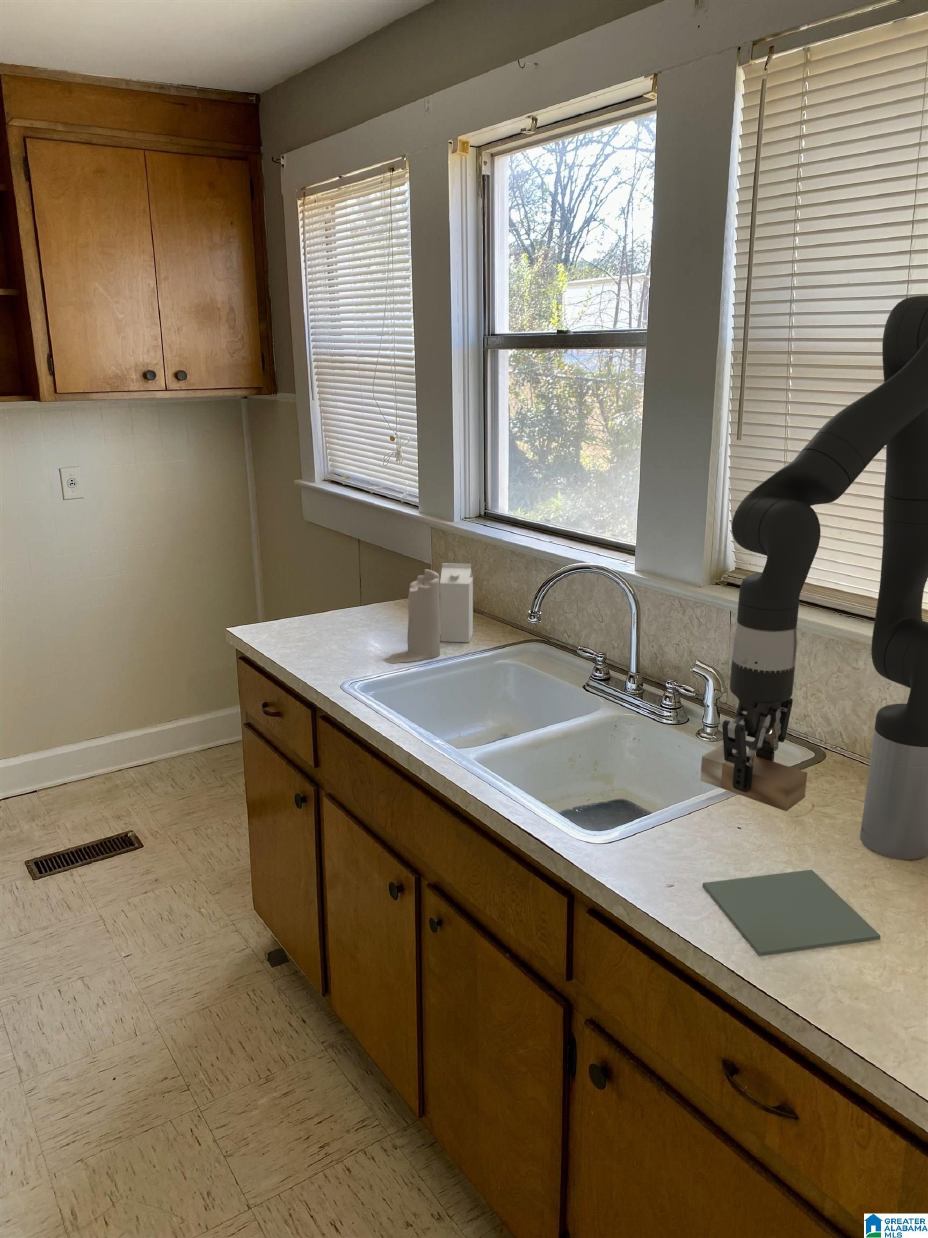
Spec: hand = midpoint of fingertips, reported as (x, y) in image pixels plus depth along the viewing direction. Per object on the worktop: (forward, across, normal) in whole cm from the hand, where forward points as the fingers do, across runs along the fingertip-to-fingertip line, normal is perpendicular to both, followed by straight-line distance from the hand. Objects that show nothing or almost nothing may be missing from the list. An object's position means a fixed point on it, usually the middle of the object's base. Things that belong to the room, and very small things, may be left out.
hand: (752, 782), depth 118 cm
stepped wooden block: (+1, 0, 0) cm, 1 cm away
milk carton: (+15, +49, +106) cm, 118 cm away
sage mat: (+15, -2, -7) cm, 17 cm away
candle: (+15, +32, +103) cm, 109 cm away
